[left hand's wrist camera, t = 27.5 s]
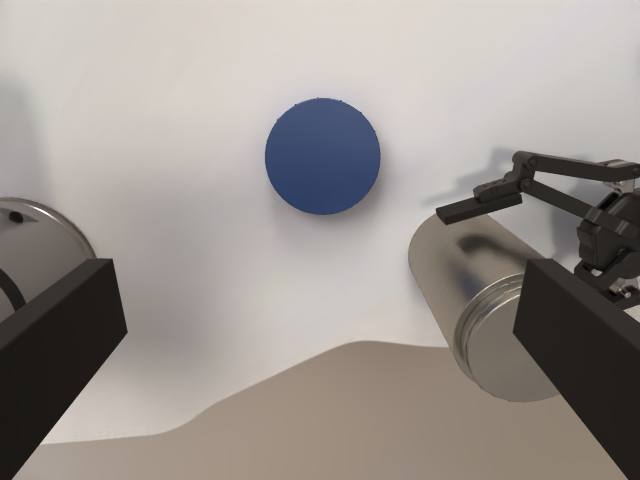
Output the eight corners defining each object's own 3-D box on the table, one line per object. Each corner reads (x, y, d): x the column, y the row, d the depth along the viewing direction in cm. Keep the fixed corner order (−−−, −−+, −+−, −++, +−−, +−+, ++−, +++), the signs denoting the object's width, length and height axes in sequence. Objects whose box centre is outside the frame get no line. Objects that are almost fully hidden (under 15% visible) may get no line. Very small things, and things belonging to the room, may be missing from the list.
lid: (399, 165, 39) (402, 168, 37) (314, 229, 42) (313, 235, 40) (332, 72, 36) (332, 71, 34) (244, 147, 39) (241, 150, 37)
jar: (416, 203, 41) (478, 276, 25) (513, 210, 41) (636, 287, 25) (401, 291, 44) (447, 403, 28) (491, 297, 44) (585, 412, 29)
